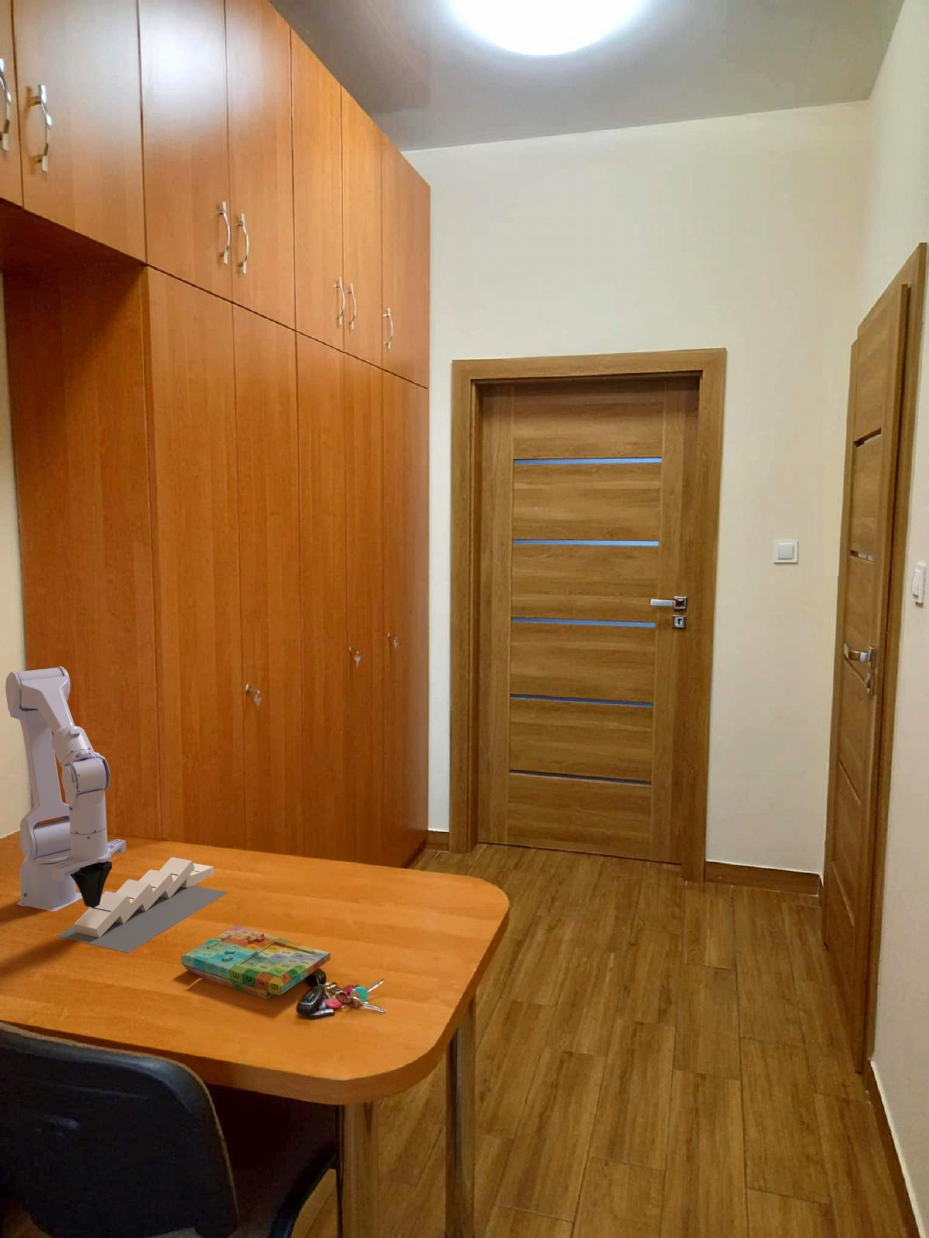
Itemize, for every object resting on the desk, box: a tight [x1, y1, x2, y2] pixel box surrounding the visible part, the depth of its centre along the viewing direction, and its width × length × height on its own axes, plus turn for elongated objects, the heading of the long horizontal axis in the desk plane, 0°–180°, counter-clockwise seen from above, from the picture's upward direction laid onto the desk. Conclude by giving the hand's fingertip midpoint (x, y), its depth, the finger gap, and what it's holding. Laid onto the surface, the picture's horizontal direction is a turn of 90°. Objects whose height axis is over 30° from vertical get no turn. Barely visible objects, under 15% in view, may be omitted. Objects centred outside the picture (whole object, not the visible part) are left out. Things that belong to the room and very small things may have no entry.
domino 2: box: [115, 878, 153, 924], centre depth 159 cm, size 2×5×8 cm
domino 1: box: [73, 890, 131, 938], centre depth 154 cm, size 2×5×8 cm
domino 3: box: [137, 869, 174, 912], centre depth 164 cm, size 2×5×8 cm
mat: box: [55, 885, 229, 954], centre depth 160 cm, size 16×26×1 cm, turn 157°
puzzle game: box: [180, 925, 331, 1000], centre depth 139 cm, size 12×5×20 cm
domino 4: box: [159, 856, 195, 899], centre depth 170 cm, size 2×5×8 cm
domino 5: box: [180, 862, 215, 888], centre depth 175 cm, size 2×5×8 cm
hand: (92, 905), depth 152 cm, fingers closed
